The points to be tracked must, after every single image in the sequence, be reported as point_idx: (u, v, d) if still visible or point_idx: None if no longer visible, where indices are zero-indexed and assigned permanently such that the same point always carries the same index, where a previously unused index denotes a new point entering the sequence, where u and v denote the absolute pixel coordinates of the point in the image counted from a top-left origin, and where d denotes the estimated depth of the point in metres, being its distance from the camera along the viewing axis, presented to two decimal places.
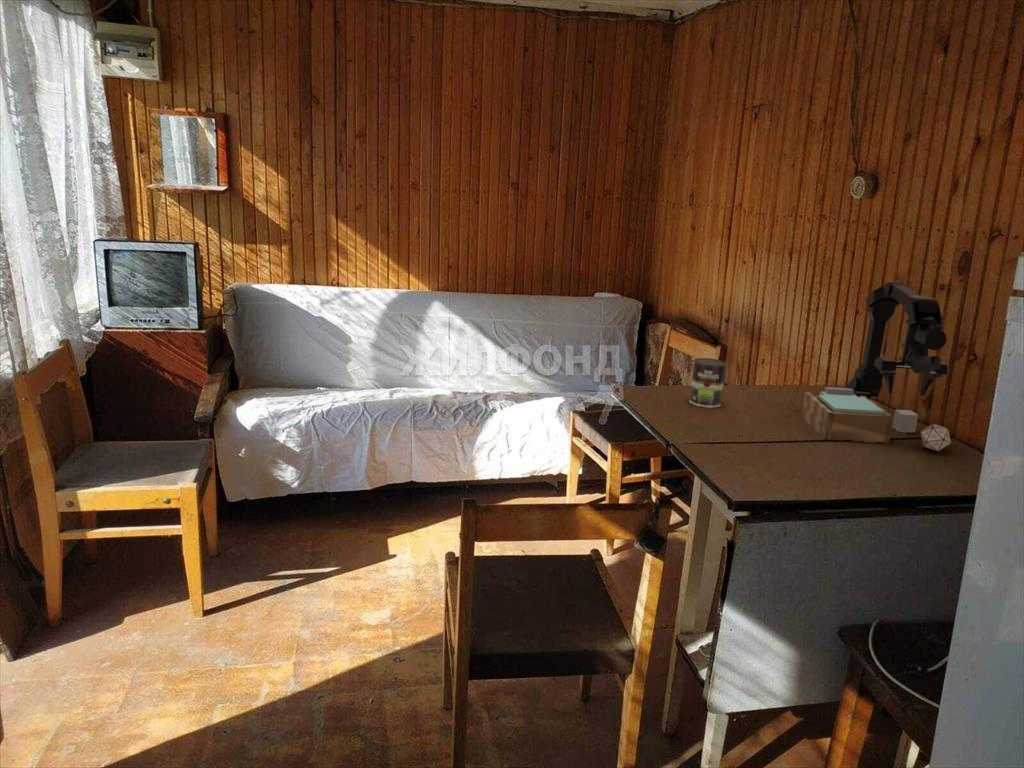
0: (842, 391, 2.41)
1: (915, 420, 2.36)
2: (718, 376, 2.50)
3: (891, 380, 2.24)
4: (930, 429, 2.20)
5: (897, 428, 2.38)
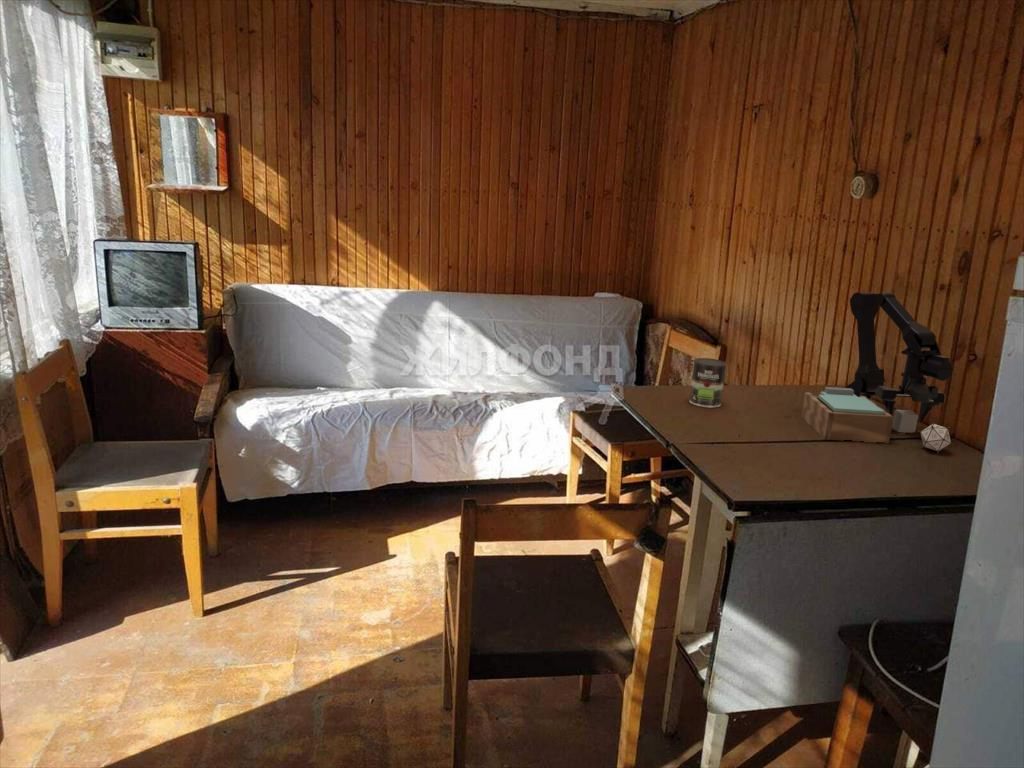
0: (842, 391, 2.41)
1: (915, 420, 2.36)
2: (718, 376, 2.50)
3: (891, 408, 2.36)
4: (930, 429, 2.20)
5: (897, 428, 2.38)
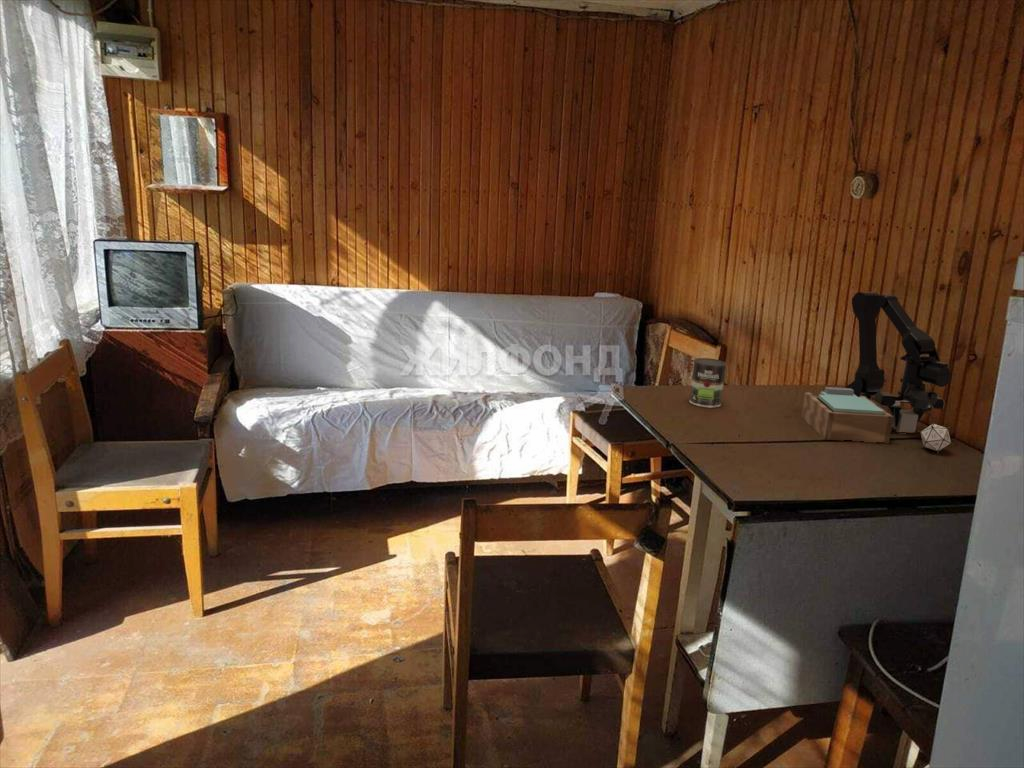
0: (842, 391, 2.41)
1: (915, 420, 2.36)
2: (718, 376, 2.50)
3: (897, 414, 2.37)
4: (930, 429, 2.20)
5: (897, 428, 2.38)
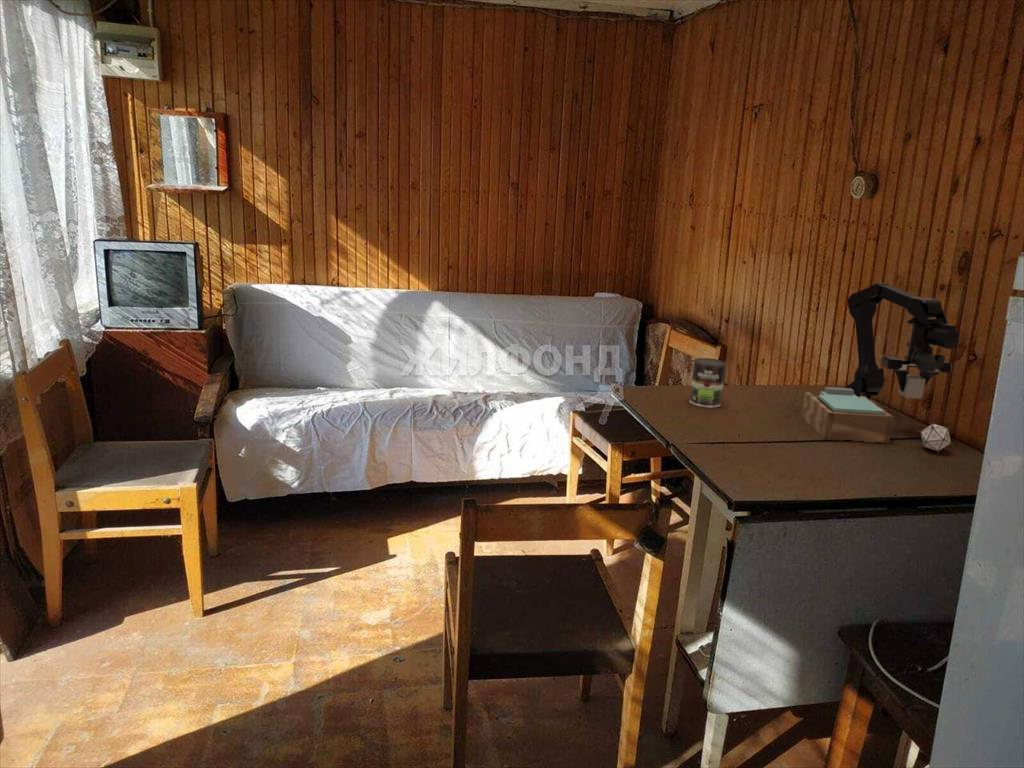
0: (842, 391, 2.41)
1: (922, 384, 2.33)
2: (718, 376, 2.50)
3: (904, 378, 2.34)
4: (930, 429, 2.20)
5: (904, 393, 2.35)
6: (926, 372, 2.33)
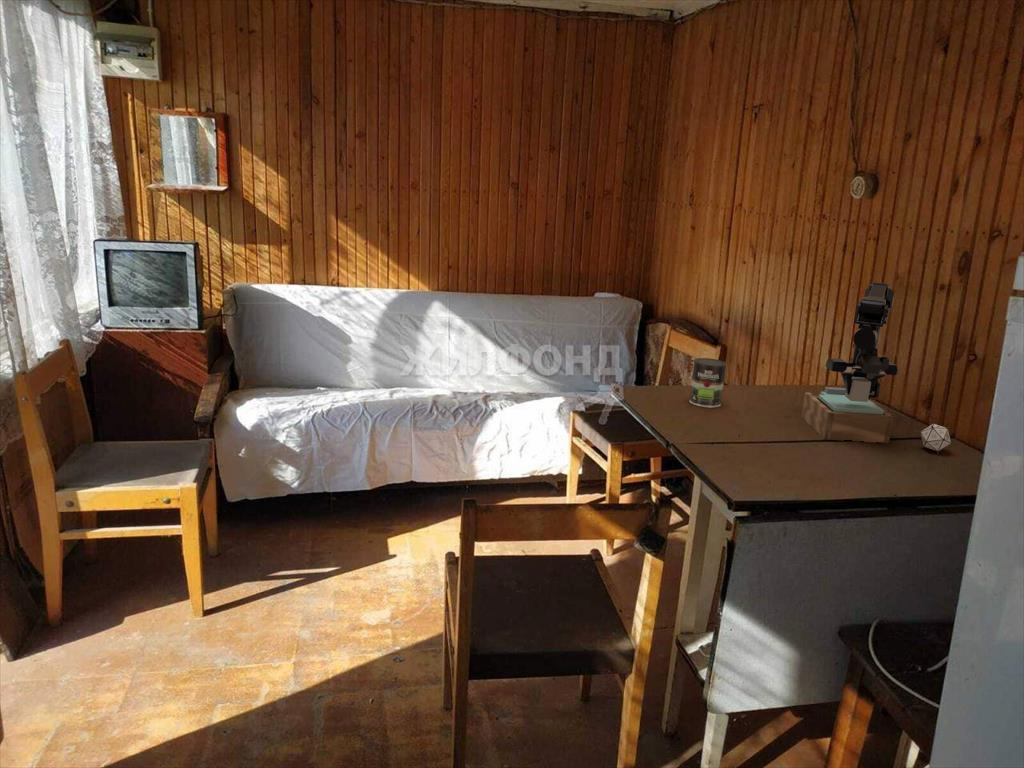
0: (842, 391, 2.41)
1: (868, 387, 2.26)
2: (718, 376, 2.50)
3: (849, 381, 2.27)
4: (930, 429, 2.20)
5: (849, 396, 2.28)
6: (872, 374, 2.27)
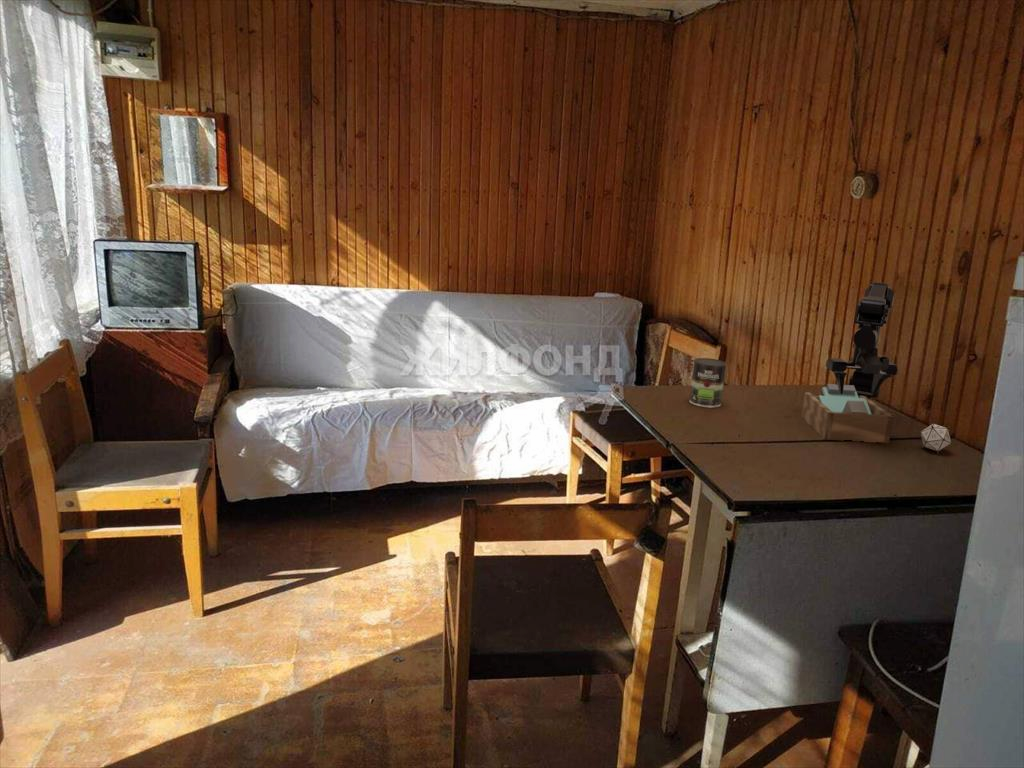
0: (844, 391, 2.40)
1: None
2: (718, 376, 2.50)
3: (842, 380, 2.27)
4: (930, 429, 2.20)
5: None
6: (879, 375, 2.26)
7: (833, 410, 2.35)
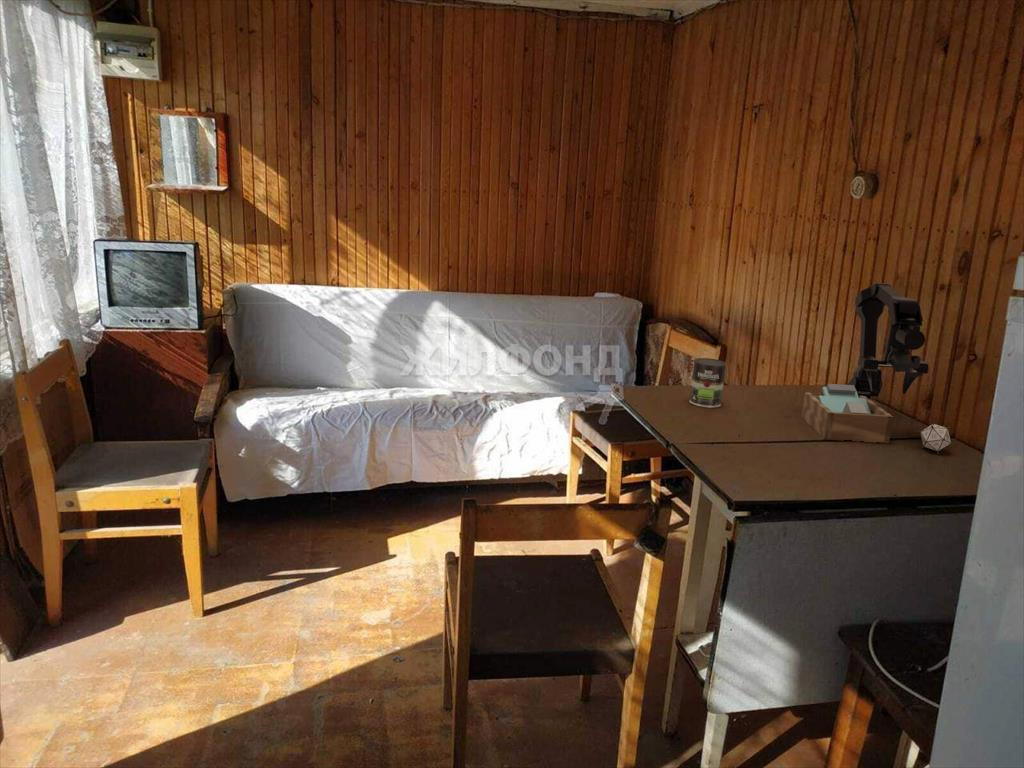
0: (844, 391, 2.40)
1: None
2: (718, 376, 2.50)
3: (873, 378, 2.33)
4: (930, 429, 2.20)
5: None
6: (910, 373, 2.32)
7: (833, 411, 2.35)
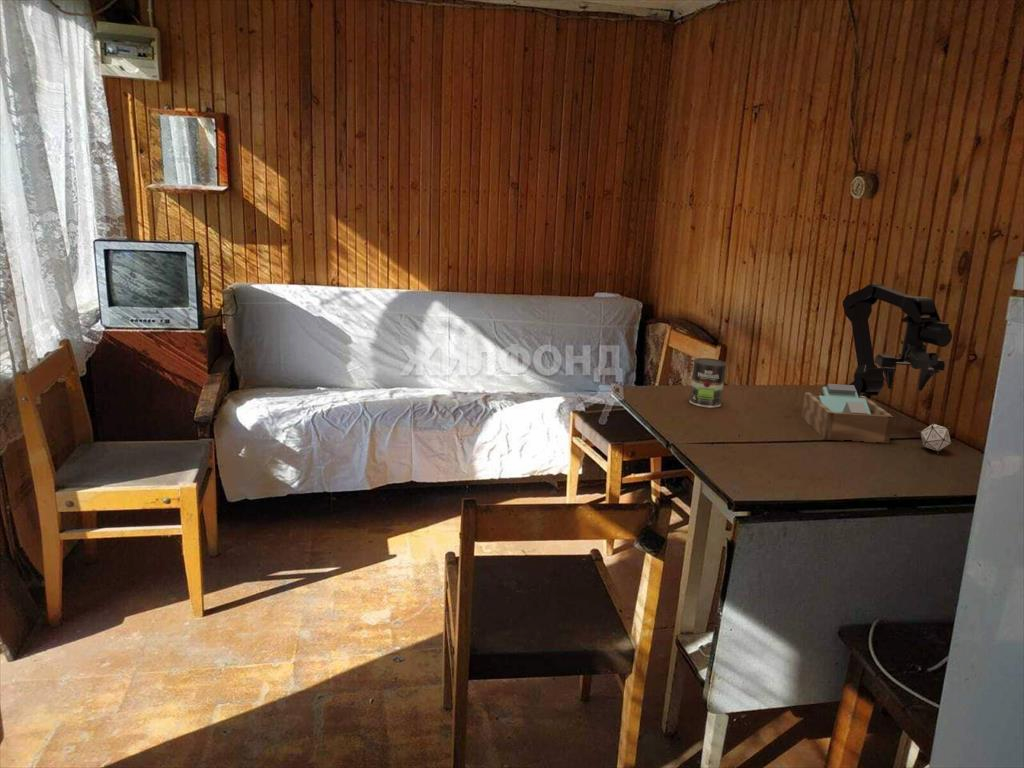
0: (844, 391, 2.40)
1: None
2: (718, 376, 2.50)
3: (891, 376, 2.36)
4: (930, 429, 2.20)
5: None
6: (927, 370, 2.35)
7: (833, 411, 2.35)
